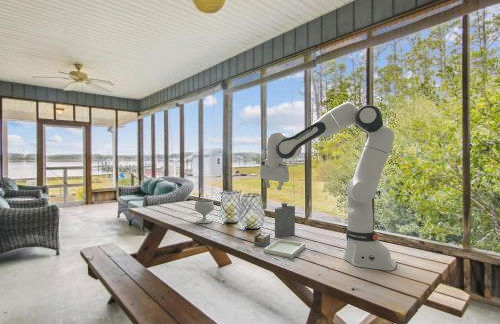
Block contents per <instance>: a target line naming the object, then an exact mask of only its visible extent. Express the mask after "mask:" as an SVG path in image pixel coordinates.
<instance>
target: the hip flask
mask: <svg viewBox="0 0 500 324" xmlns="http://www.w3.org/2000/svg"><path fill="white" fill-rule="evenodd" d="M295 225H296V205H288V202H281V206H280V207H275V208H274V238H276V239H280V238H282V237H289V236H294V235H296V233H295V232H296V226H295Z"/></svg>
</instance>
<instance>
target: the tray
mask: <svg viewBox="0 0 500 324" xmlns="http://www.w3.org/2000/svg"><path fill="white" fill-rule="evenodd" d="M305 249H306V242H299V241H295V240H289V239H283V238H277V240H275V241H274V242H271V243H270V244H269V245H267V246H266V247H263V253H265V254H270V255H274V256H278V257H283V258H287V260H293V259H294V258H295V257H297V255H300V253H301V252H302V251H303V250H305Z"/></svg>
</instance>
